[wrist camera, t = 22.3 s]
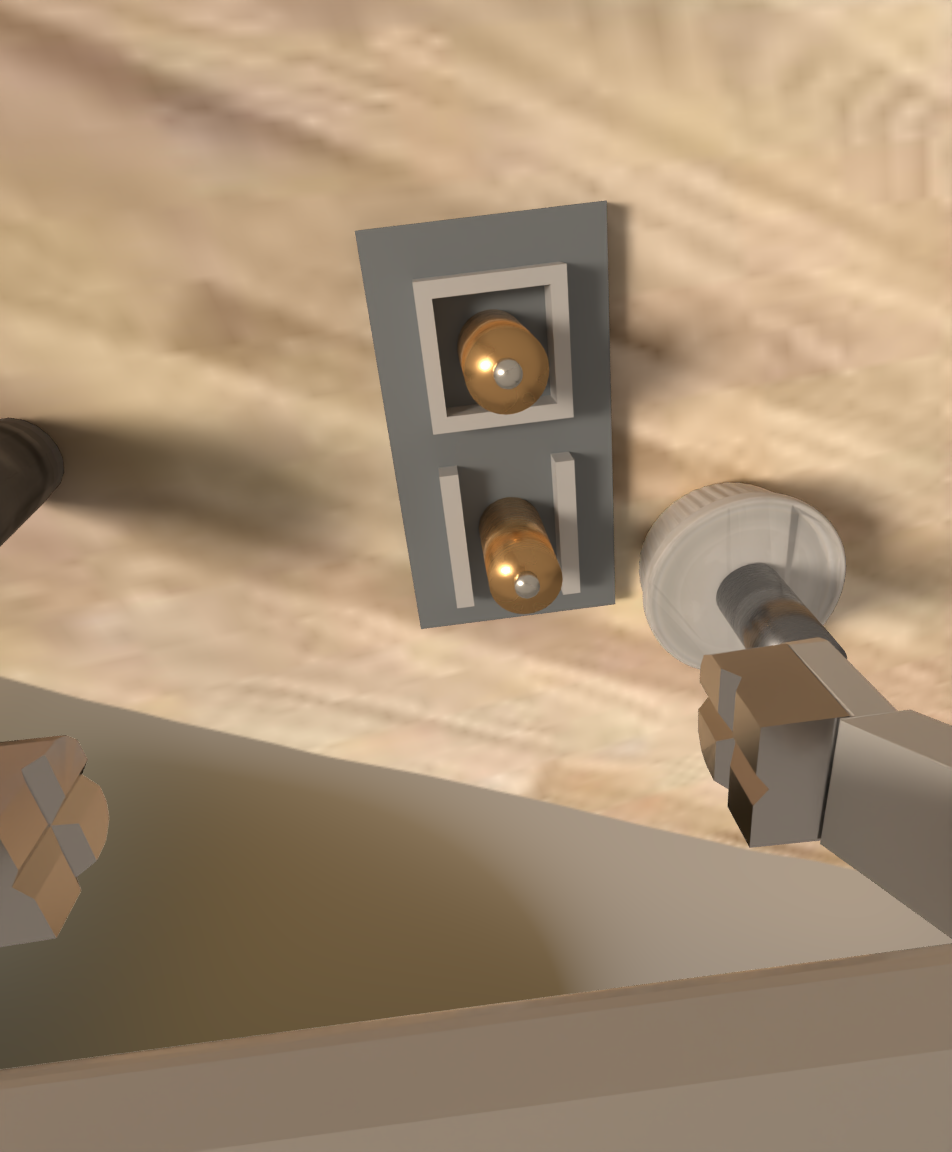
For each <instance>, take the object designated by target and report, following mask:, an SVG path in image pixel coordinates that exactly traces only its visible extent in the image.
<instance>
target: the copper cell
mask: <svg viewBox="0 0 952 1152" xmlns="http://www.w3.org/2000/svg"><path fill="white" fill-rule="evenodd" d="M457 352H458V357H459V360H460V364H461V368H462V371H463V375H464V379H465V382H466V386H467V388H468V391H469V393H470V395H471V396H472V398H473V399H474V400H475V401H476V402H477V403H478V404H479V405H480V406H481V407H483V408H484V409H486V410H488V411H490V412H493V413H496V414H504V415H508V414H515V413H518V412H521V411H523V410H525V409H527V408H529V407H530V406H532V405H533V404H534V403H535V402H536V401H537V400H538V399H539V398H540V396H541V395H542V393H543V392H544V390H545V388H546V385H547V382H548V378H549V362H548V357H547V354H546V352H545V350H544V348H543V346H542V345H541V343H540V342H539V341H538V340H537V339H536V338H535V337H534V336H533V335H532V334H531V333H530V332H529V331H528V330H527V329H526V328H525V327H524V326H523V325H522V324H521V323H520V322H519V321H518V320H517V319H516V318H515V317H514V316H512V315H511V314H509V313H507V312H505V311H502V310H497V309H489V310H484V311H481V312H478V313H476V314H475V315H473V316H472V317H470V318H469V319H468V320H467V321H466V323H465V324H464V325H463V327H462V329H461V331H460V333H459V337H458V341H457Z"/></svg>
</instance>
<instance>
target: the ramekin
mask: <svg viewBox="0 0 952 1152" xmlns="http://www.w3.org/2000/svg"><path fill="white" fill-rule="evenodd" d="M750 564H763V565H766V566H769V567H771V568H772V569H774V570H775V571H776V572H777V573H778V574H779V576H780V577H781V578H782V579H783V580H784V581H785V583H786V584H787V585H788V586H789V587H790V588H791V589H792V591H793V592H794V593H795V594H796V595H797V596H798V598H799V599H800V600H801V601H802V602H803V603H804V605H805V606H806V607H807V608H808V609H809V610H810V611H811V613H812V614H813V615H814V616H815V617H816V618H817V620H818V621H819V622H820V623H821V624H822V625H824V624H825V623H826V621H827V620H828V618H829V617H830V615H831V614H832V612H833V611H834V608H835V607H836V605H837V603H838V600H839V598H840V595H841V593H842V589H843V585H844V581H845V575H846V557H845V551H844V547H843V544H842V541H841V539H840V536H839V535H838V533H837V531H836V530H835V528H834V526H833V525H832V524H831V522H830V521H829V520H828V519H827V518H826V517H825V516H824V515H823V514H821V513H820V512H819V511H818V510H816V509H815V508H814V507H812V506H811V505H809V504H807V503H805V502H804V501H802V500H799V499H797V498H795V497H791V496H788V495H785V494H780V493H774V492H772V491H769V490H767V489H764V488H761V487H758V486H754V485H751V484H743V483H729V482H727V483H722V484H714V485H710V486H704V487H702V488H700V489H696V490H693V491H692V492H690V493H689V494H686V495H684V496H682V497H681V498H680V499H678V500H677V501H675V502H674V503H673V504H672V505H671V506H669V507H668V508H666V509H665V510H664V512H663V513H662V514H661V515H660V516H659V517H658V518H657V520H656V521H655V522H654V523H653V525H652V527H651V529H650V530H649V532H648V533H647V536H646V539H645V541H644V543H643V547H642V550H641V553H640V561H639V576H640V583H641V587H642V591H643V607H644V612H645V616H646V618H647V621H648V624H649V626H650V628H651V630H652V632H653V634H654V636H655V637H656V639H657V640H658V642H659V643H660V644H661V646H662V647H663V648H664V649H665V650H666V651H667V652H668V653H670V654H671V655H672V656H673V657H675V658H676V659H678V660H679V661H681V662H682V663H684V664H686V665H688V666H691V667H694V668H697V669H700V666H701V662H702V659H703V656H704V655H707V654H714V653H721V652H729V651H736V650H743V649H745V647H744V646H743V644H742V643H741V641H740V640H739V638H738V637H737V635H736V634H735V632H734V631H733V629H732V628H731V626H730V625H729V623H728V622H727V620H726V619H725V617H724V616H723V614H722V613H721V611H720V610H719V608H718V606H717V602H716V594H717V590H718V588H719V586H720V584H721V582H722V581H723V580H724V578H725V577H726V576H727V575H729V574H730V573H731V572H733V571H734V570H736V569H738V568H740V567H742V566H745V565H750Z"/></svg>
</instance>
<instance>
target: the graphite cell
mask: <svg viewBox="0 0 952 1152" xmlns="http://www.w3.org/2000/svg"><path fill="white" fill-rule="evenodd" d="M716 602H717V606H718V608H719V610H720V611H721V613H722V614H723V616H724V617H725V619H726V620H727V622H728V623H729V625H730V626H731V628H732V629H733V631H734V632H735V634H736V635H737V637H738V638H739V640H740V641H741V643H742V644H743V646H744V647H745V649H750V648H757V647H764V646H771V645H779V644H781V643H785V642H792V641H798V640H804V639H811V638H817V637H820V638H823V639H825V640H828V641H829V642H830V643H831V644H832V645H833V646H834V647H835V648H836V649H837V650H838V651H839V652H840V653H841V654H842V655H843V656H844V657H845V658H846V659H847V656H846V653H845V651H844V650H843V649H842V647H841V646H840V645H839V644H838V643H837V642H836V640H835V639H834V638H833V637H832V636H831V635H830V633H829V632H828V631H827V630H826V629H825V628H824V627H823V625H822V624H821V623H820V622H819V621H818V620H817V618H816V617H815V616H814V615H813V614H812V613H811V611H810V610H809V609H808V608H807V607H806V606H805V605H804V603H803V602H802V601H801V600H800V599H799V598H798V596H797V595H796V594H795V593H794V592H793V591H792V589H791V588H790V587H789V586H788V585H787V584H786V583H785V581H784V580H783V579H782V578H781V577H780V576H779V574H778V573H777V572H776V571H775V570H774V569H772V568H771V567H769V566H766V565H763V564H750V565H745V566H742V567H740V568H738V569H736V570H734V571H733V572H731V573H730V574H729V575H727V576H726V577H725V578H724V580H723V581H722V582H721V584H720V586H719V588H718V590H717V594H716Z"/></svg>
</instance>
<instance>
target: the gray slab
mask: <svg viewBox="0 0 952 1152" xmlns="http://www.w3.org/2000/svg"><path fill="white" fill-rule="evenodd" d="M355 235H356V241H357V247H358V253H359V259H360V265H361V271H362V277H363V283H364V289H365V295H366V301H367V307H368V313H369V319H370V325H371V331H372V337H373V343H374V349H375V355H376V361H377V367H378V373H379V379H380V385H381V391H382V397H383V403H384V409H385V415H386V421H387V427H388V433H389V439H390V445H391V451H392V457H393V463H394V469H395V475H396V481H397V487H398V493H399V499H400V505H401V511H402V517H403V523H404V529H405V535H406V541H407V547H408V553H409V559H410V565H411V571H412V577H413V583H414V589H415V595H416V601H417V607H418V613H419V619H420V625H421V629H425V628H433V627H441V626H448V625H456V624H464V623H472V622H480V621H487V620H495V619H503V618H511V617H519V616H526V615H534V614H542V613H550V612H558V611H566V610H573V609H581V608H589V607H597V606H605V605H612V604H615V571H614V524H613V477H612V431H611V384H610V337H609V290H608V244H607V201H599V202H590V203H582V204H574V205H566V206H557V207H549V208H541V209H532V210H524V211H516V212H508V213H499V214H491V215H483V216H474V217H466V218H458V219H450V220H441V221H433V222H425V223H416V224H408V225H400V226H392V227H383V228H375V229H367V230H358V231H355ZM489 309H497V310H502V311H505V312H507V313H509V314H511V315H512V316H514V317H515V318H516V319H517V320H518V321H519V322H520V323H521V324H522V325H523V326H524V327H525V328H526V329H527V330H528V331H529V332H530V333H531V334H532V335H533V336H534V337H535V338H536V339H537V340H538V341H539V342H540V343H541V345H542V346H543V348H544V350H545V352H546V354H547V357H548V362H549V378H548V382H547V385H546V388H545V390H544V392H543V393H542V395H541V396H540V398H539V399H538V400H537V401H536V402H535V403H534V404H533V405H532V406H530V407H529V408H527V409H525V410H523V411H521V412H518V413H515V414H508V415H504V414H496V413H493V412H490V411H488V410H486V409H484V408H483V407H481V406H480V405H479V404H478V403H477V402H476V401H475V400H474V399H473V398H472V396H471V395H470V393H469V391H468V388H467V386H466V382H465V379H464V375H463V371H462V368H461V364H460V360H459V357H458V352H457V341H458V337H459V333H460V331H461V329H462V327H463V325H464V324H465V323H466V321H467V320H468V319H469V318H470V317H472V316H473V315H475V314H476V313H478V312H481V311H484V310H489ZM506 497H517V498H521V499H524V500H526V501H528V502H529V503H531V504H532V505H533V506H534V507H535V508H536V510H537V511H538V513H539V516H540V518H541V521H542V523H543V526H544V528H545V530H546V533H547V535H548V538H549V540H550V543H551V545H552V548H553V550H554V553H555V555H556V558H557V560H558V563H559V565H560V568H561V571H562V576H563V582H562V587H561V590H560V592H559V594H558V596H557V598H556V599H555V600H554V601H553V602H552V603H551V604H550V605H549V606H547V607H546V608H544V609H542V610H540V611H538V612H535V613H530V614H517V613H513V612H510V611H507V610H505V609H503V608H502V607H501V606H499V605H498V604H497V603H496V601H495V600H494V599H493V597H492V595H491V592H490V588H489V583H488V577H487V572H486V566H485V561H484V556H483V550H482V545H481V539H480V534H479V521H480V518H481V515H482V514H483V512H484V510H485V509H486V508H487V507H488V506H489V505H490V504H491V503H493V502H495V501H497V500H499V499H502V498H506Z"/></svg>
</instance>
